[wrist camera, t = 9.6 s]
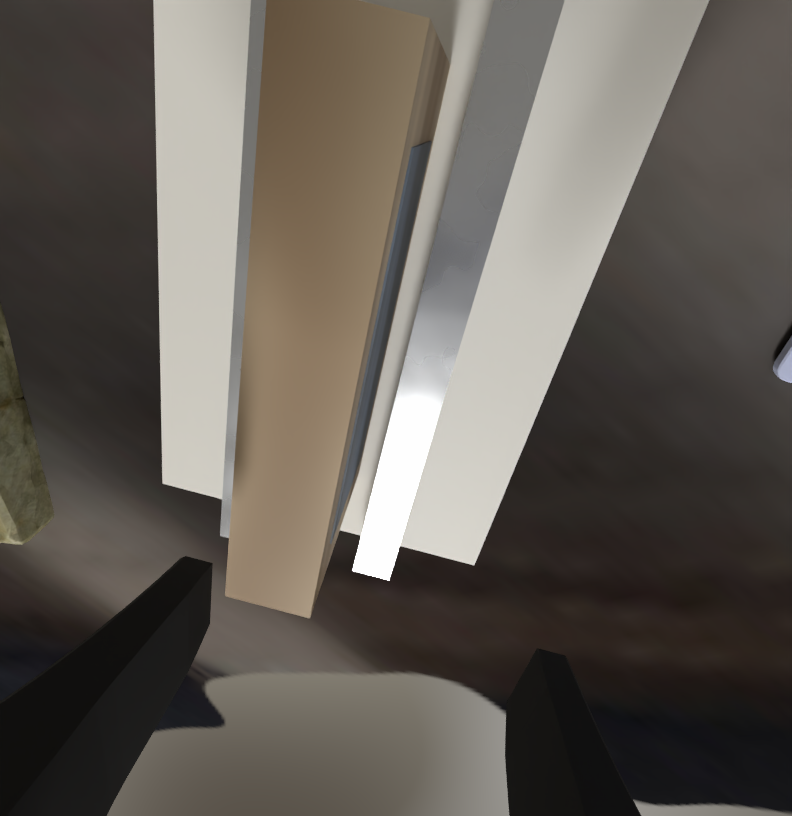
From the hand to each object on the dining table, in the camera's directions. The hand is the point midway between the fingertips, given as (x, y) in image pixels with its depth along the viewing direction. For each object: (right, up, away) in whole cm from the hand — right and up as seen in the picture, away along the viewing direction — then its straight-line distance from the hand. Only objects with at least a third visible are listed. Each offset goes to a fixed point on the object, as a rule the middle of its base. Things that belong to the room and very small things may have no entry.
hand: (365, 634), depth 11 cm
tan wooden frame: (-1, +9, +6) cm, 10 cm away
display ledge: (0, +9, +7) cm, 11 cm away
